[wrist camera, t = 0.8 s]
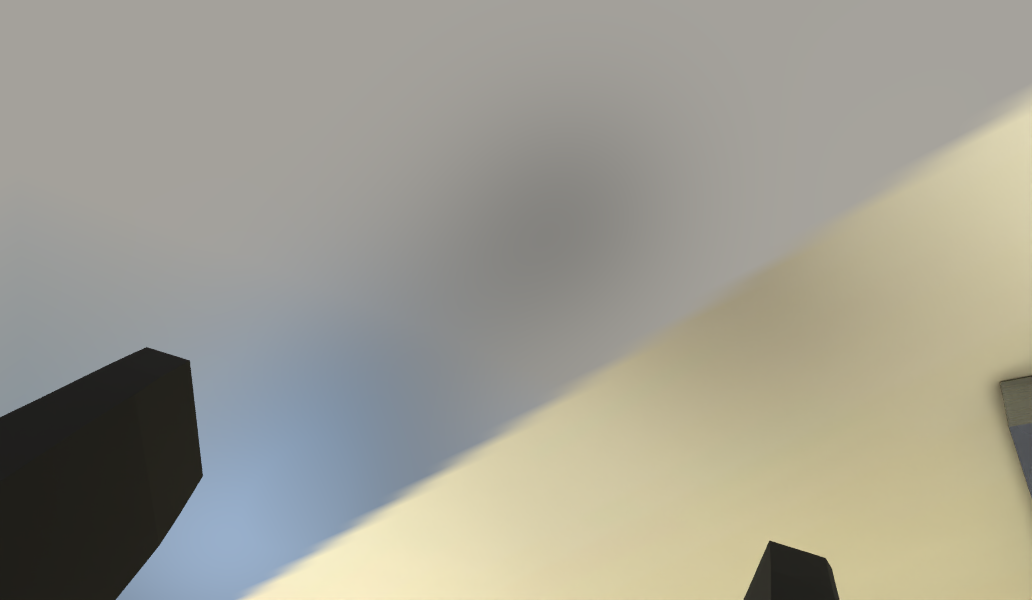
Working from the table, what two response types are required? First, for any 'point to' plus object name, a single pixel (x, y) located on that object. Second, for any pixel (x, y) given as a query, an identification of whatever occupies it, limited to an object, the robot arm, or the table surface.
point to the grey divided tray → (1020, 420)
